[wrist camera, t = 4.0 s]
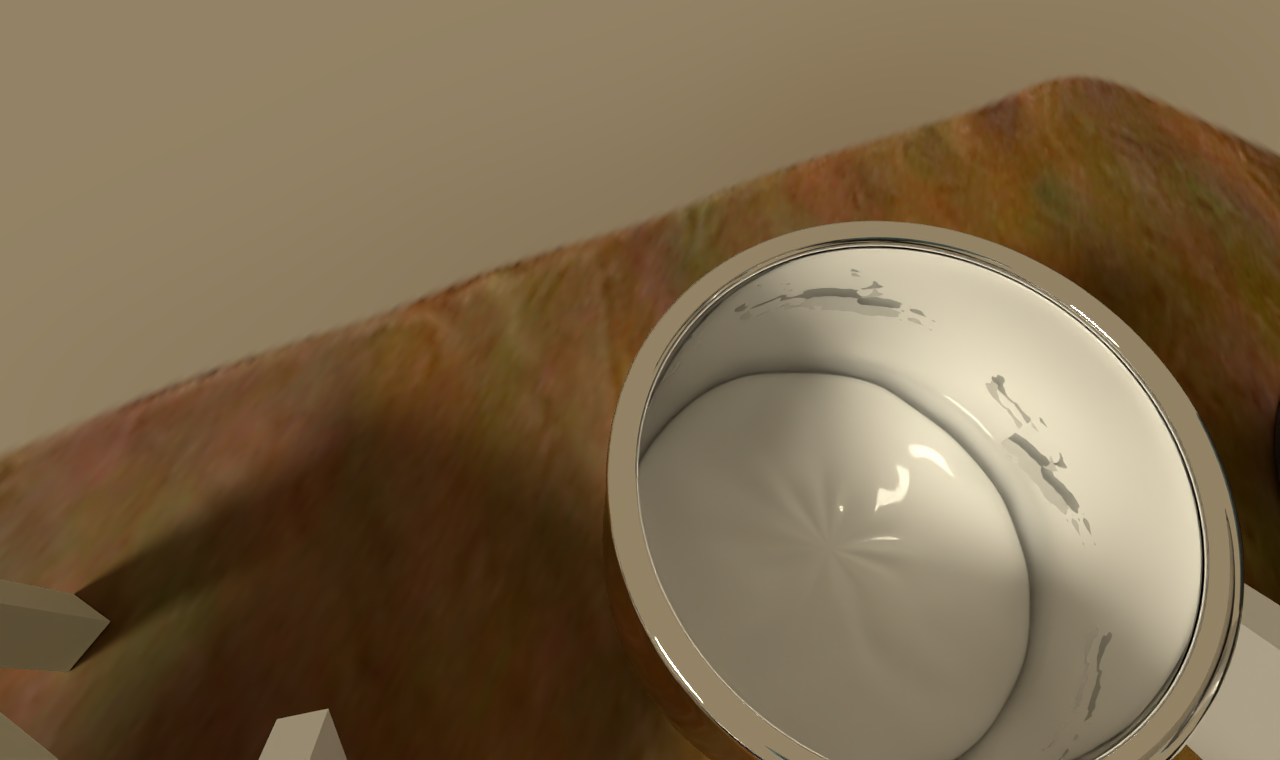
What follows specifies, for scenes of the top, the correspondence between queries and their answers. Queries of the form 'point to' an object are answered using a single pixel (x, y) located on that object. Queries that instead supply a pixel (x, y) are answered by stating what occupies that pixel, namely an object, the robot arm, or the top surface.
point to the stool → (40, 646)
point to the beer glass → (915, 512)
